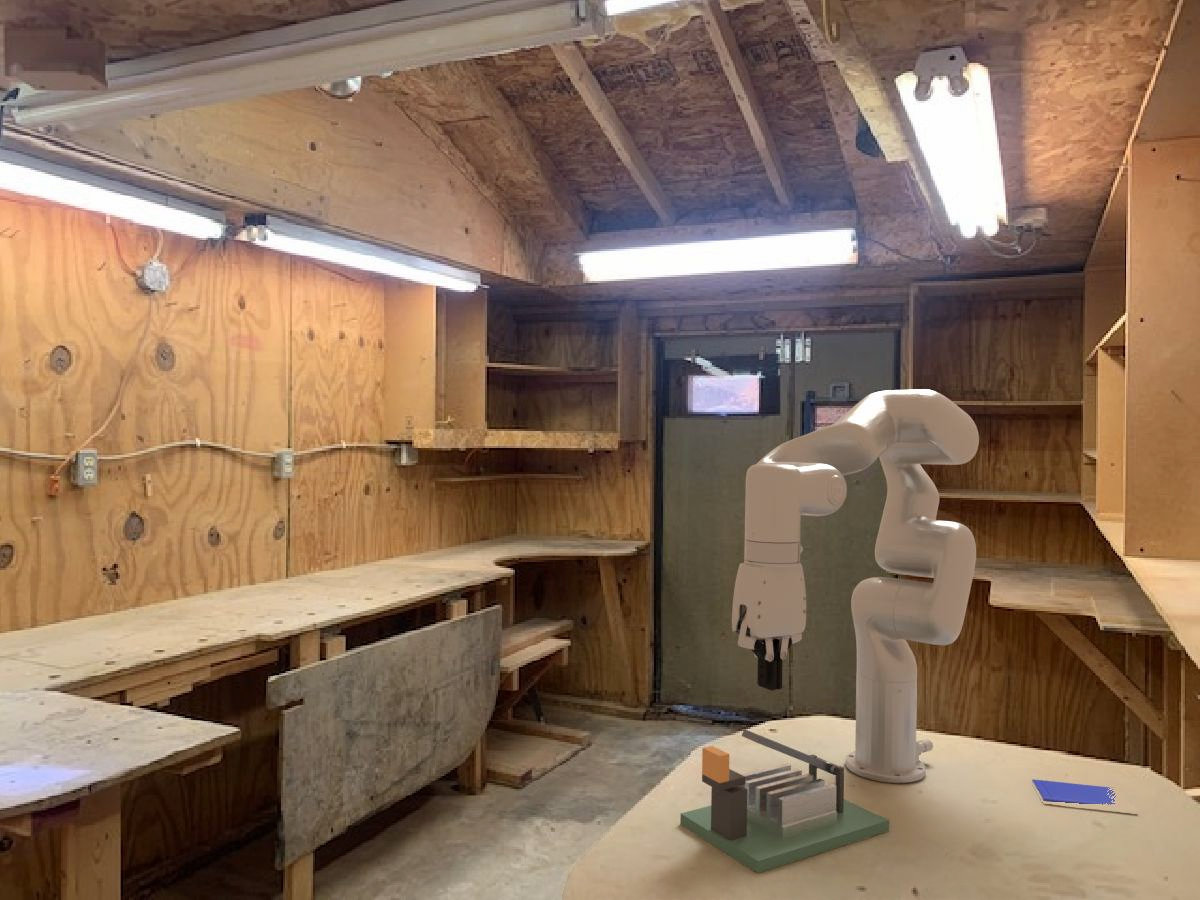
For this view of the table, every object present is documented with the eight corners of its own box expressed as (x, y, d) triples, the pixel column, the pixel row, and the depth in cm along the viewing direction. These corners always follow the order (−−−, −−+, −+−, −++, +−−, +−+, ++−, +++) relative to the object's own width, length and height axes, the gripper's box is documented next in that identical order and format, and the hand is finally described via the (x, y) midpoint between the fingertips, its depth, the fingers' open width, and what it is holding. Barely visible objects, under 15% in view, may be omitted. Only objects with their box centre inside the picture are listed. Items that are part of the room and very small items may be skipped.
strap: (818, 768, 126) (821, 758, 126) (837, 776, 123) (840, 766, 123) (739, 736, 118) (743, 726, 118) (757, 744, 115) (760, 734, 115)
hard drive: (1119, 787, 134) (1031, 777, 137) (1136, 807, 126) (1043, 797, 129) (1119, 797, 134) (1031, 787, 137) (1136, 818, 126) (1043, 808, 129)
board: (805, 790, 133) (806, 740, 133) (889, 830, 119) (889, 774, 119) (680, 824, 121) (681, 768, 121) (757, 873, 107) (758, 810, 107)
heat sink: (785, 796, 127) (786, 763, 127) (837, 822, 118) (837, 786, 118) (733, 810, 122) (733, 775, 122) (782, 838, 113) (783, 800, 113)
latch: (727, 775, 117) (728, 742, 117) (745, 784, 114) (745, 750, 114) (702, 781, 115) (702, 747, 115) (719, 790, 112) (719, 756, 112)
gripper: (792, 548, 125) (790, 674, 125) (712, 553, 118) (709, 687, 118) (831, 554, 119) (828, 687, 119) (748, 559, 111) (746, 701, 111)
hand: (769, 687), depth 118 cm, fingers closed
